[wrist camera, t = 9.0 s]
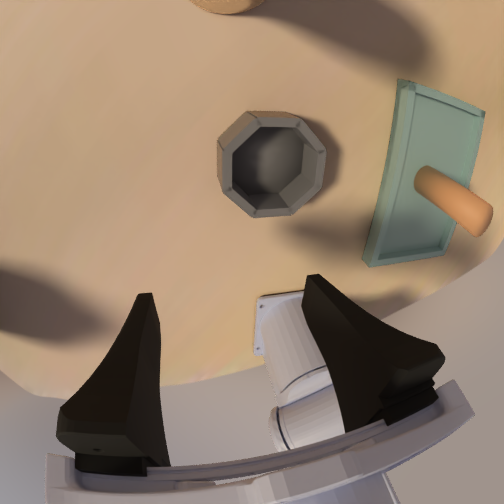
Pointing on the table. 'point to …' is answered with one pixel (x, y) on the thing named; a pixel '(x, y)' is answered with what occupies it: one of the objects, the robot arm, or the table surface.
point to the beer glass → (227, 5)
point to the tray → (407, 165)
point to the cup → (270, 163)
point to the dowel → (454, 200)
